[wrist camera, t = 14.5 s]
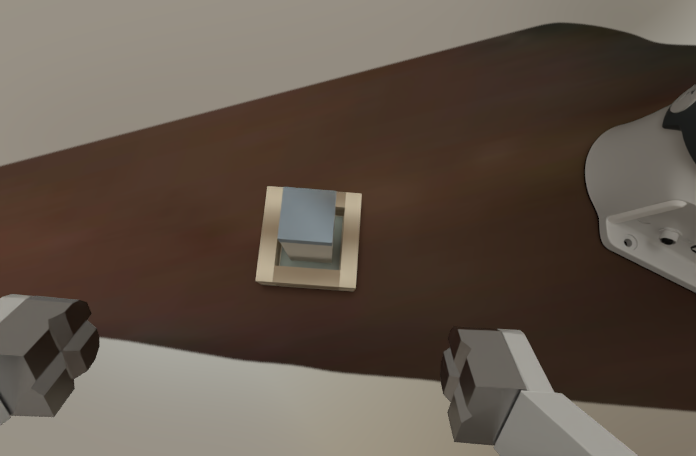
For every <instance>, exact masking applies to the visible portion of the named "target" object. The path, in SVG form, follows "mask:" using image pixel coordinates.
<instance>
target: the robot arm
mask: <svg viewBox="0 0 696 456" xmlns="http://www.w3.org/2000/svg"><path fill="white" fill-rule="evenodd" d="M585 180H586V186H587V190H588V193H589V196H590V198H591V201H592V203H593V205H594V207H595V209H596V211H597V214H598V217H599V230H600V237H601V241H602V243H603V245H604V246H605V247H606V248H607V249H609V250H611V251H613V252H615V253H617V254H619V255H621V256H623V257H625V258H627V259H629V260H631V261H633V262H635V263H637V264H639V265H641V266H643V267H645V268H647V269H649V270H651V271H653V272H655V273H657V274H659V275H661V276H663V277H665V278H667V279H669V280H671V281H673V282H675V283H677V284H679V285H681V286H683V287H685V288H687V289H689V290H691V291H693V292H695V293H696V84H695V85H694V86H692V87H691V88H690V89H688V90H687V91H685V92H684V93H683V94H682V95H680V96H679V97H678V98H677V99H676V100H675V101H674V102H673V103H672V104H671V105H669V106H667V107H665V108H663V109H661V110H658V111H656V112H654V113H652V114H650V115H648V116H645V117H643V118H641V119H638V120H635V121H633V122H629V123H626V124H622V125H619V126H616V127H613V128H611V129H609V130H608V131H606V132H605V133H603V134H602V135H601V136H600V137H599V138H598V139H597V140H596V141H595V142H594V144H593V145H592V147H591V149H590V151H589V153H588V156H587V160H586V165H585ZM624 241H625V242H626V243H627V246H626V245H625V244H624ZM90 315H91V311H90V309H89V306H88V304H87V302H84V301H81V300H74V299H63V298H52V297H42V296H26V295H16V294H10V295H7V296H4V297H2V298H0V425H2V424H3V423H5V422H6V421H7V420H9V419H10V418H11V416H39V417H54V416H55V415H56V414H57V412H58V411H59V409H60V408H61V407H62V405H63V404H64V403H65V401H66V399H67V398H68V397H69V396H70V394H71V393H72V391H73V390H74V379H75V378H76V377H78V376H80V375H81V374H83V373H85V372H86V371H87V370H88V369H89V368H90V366H91V365H92V363H93V362H94V360H95V358H96V355H97V352H98V348H99V334H98V331H97V328H96V327H94V326H93V325H92V324H91V323H90V322H88V321H87V320H88V318H89V317H90ZM448 341H449V345H450V348H449V349H447V350H446V351H445V352H444V353H443V357H442V361H441V371H440V376H441V385H442V390H443V394H444V395H445V396H446V398H447V399H448V400H449V401H450V402H451V404H450V407H449V410H448V417H449V421H450V426H451V430H452V434H453V438H454V442H461V443H472V444H484V445H494V449H495V450H496V451H497V453H498V454H499V455H500V456H638V455H637V454H636V453H634V452H633V451H632V450H631V449H629V448H628V447H627V446H626V445H625V444H623V443H622V442H621V441H620V440H618V439H617V438H616V437H615V436H613V435H612V434H611V433H610V432H608V431H607V430H606V429H605V428H604V427H602V426H601V425H600V424H599V423H598V422H596V421H595V420H594V419H592V418H591V417H590V416H589V415H588V414H586V413H585V412H584V411H583V410H582V409H580V408H579V407H578V406H577V405H575V404H574V403H573V402H572V401H570V400H569V399H568V398H567V397H566V396H564V395H563V394H562V393H554V391H553V389H552V387H551V385H550V383H549V381H548V379H547V377H546V375H545V373H544V371H543V369H542V367H541V365H540V363H539V362H538V360H537V358H536V356H535V354H534V352H533V350H532V348H531V346H530V344H529V342H528V340H527V338H526V336H525V334H524V333H523V332H522V331H520V330H509V329H490V328H474V327H457V326H453V328H452V329H451V330H450V333H449V336H448Z"/></svg>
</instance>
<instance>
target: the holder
mask: <svg viewBox="0 0 696 456" xmlns="http://www.w3.org/2000/svg"><path fill="white" fill-rule="evenodd" d="M282 195H283V187H271V186H267V194H266V202H265V210H264V218H263V225H262V233H261V241H260V249H259V257H258V265H257V273H256V281H257V282H258V283H260V284H262V285H272V286H285V287H299V288H313V289H327V290H340V291H354V290H355V289H356V276H357V260H358V245H359V229H360V213H361V197H362V194H359V193H347V192H336V206H335V226H334V239H333V251H332V264H331V263H318V262H305V261H292V260H290V258H289V256H288V255H287V253H286V251H285V250H284V248H283V246H282V245H281V243H280V242H279V240H278V239H277V238H278V229H279V221H280V212H281V204H282Z"/></svg>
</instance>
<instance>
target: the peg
mask: <svg viewBox="0 0 696 456" xmlns="http://www.w3.org/2000/svg"><path fill="white" fill-rule="evenodd" d="M335 206H336V191H329V190H316V189H304V188H291V187H283V195H282V204H281V212H280V221H279V229H278V238H277V239H278V240H279V242H280V243H281V245H282V246H283V248H284V250H285V251H286V253H287V255H288V256H289V258H290V260H292V261H305V262H318V263H331V264H332V251H333V239H334V226H335Z"/></svg>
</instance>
